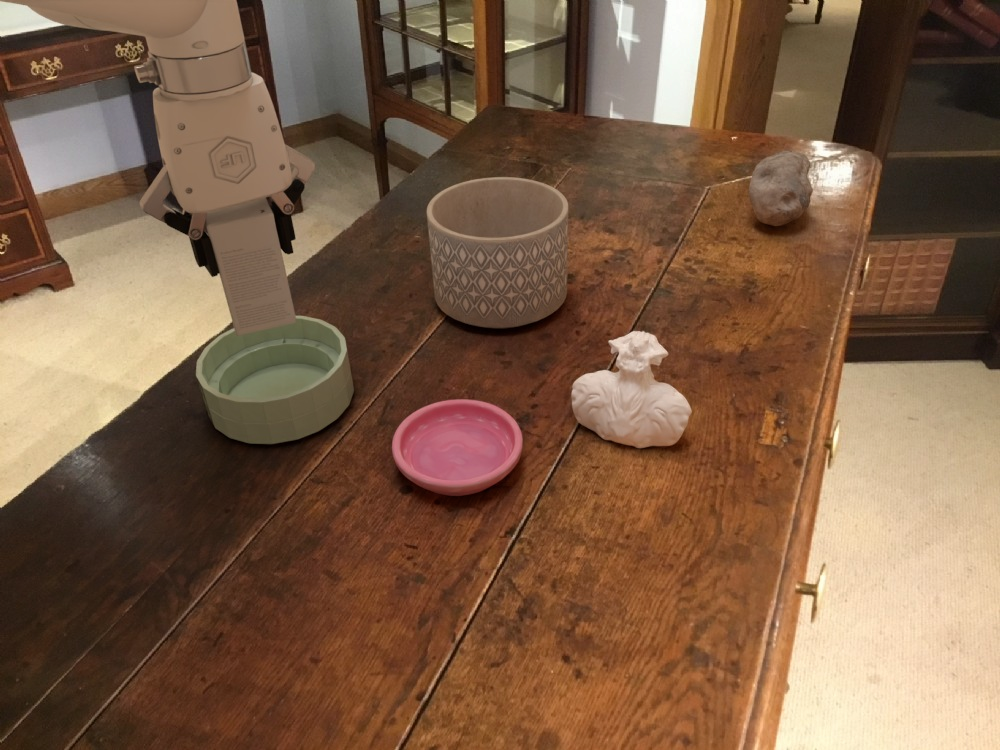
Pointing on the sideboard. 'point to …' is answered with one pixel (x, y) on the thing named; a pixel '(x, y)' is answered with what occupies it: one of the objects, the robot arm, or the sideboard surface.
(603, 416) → the bust
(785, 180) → the stone
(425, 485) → the saucer
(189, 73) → the robot arm
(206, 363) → the bowl
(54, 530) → the sideboard surface
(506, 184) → the planter
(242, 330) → the cosmetic box
